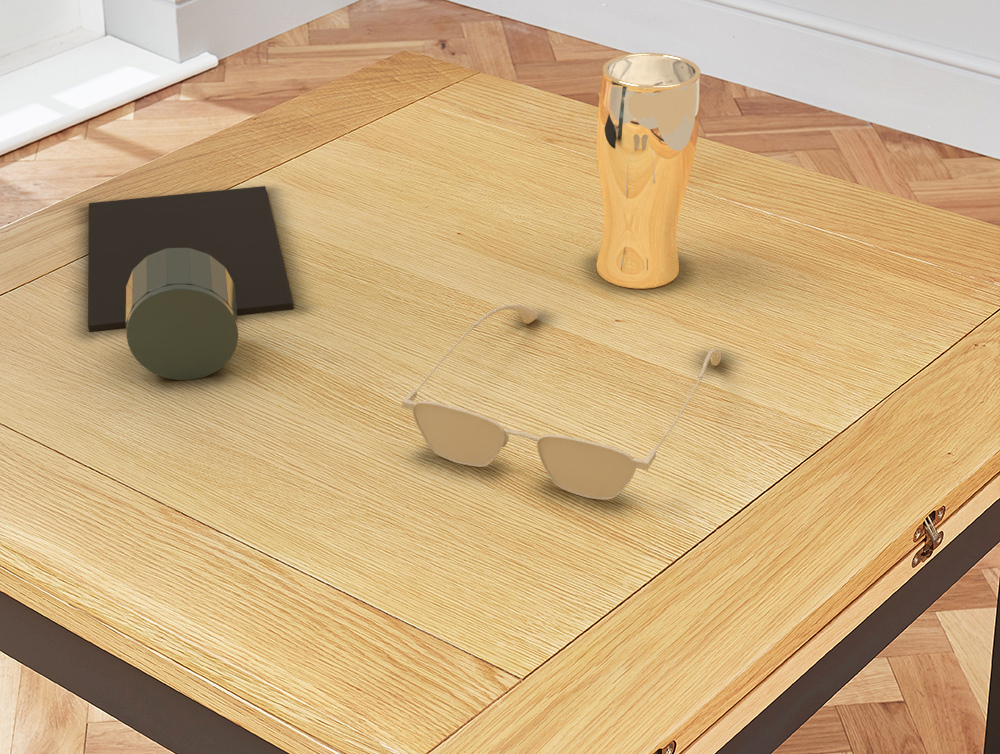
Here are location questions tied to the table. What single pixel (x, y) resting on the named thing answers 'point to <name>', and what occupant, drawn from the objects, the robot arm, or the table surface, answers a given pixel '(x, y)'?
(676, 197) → the beer glass
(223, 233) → the mat
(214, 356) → the cup
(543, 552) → the table surface
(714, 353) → the eyeglasses
